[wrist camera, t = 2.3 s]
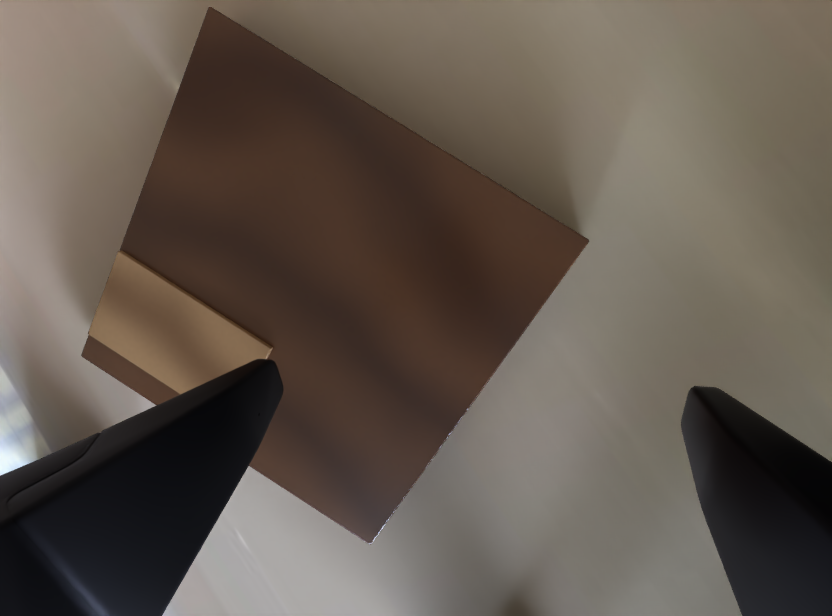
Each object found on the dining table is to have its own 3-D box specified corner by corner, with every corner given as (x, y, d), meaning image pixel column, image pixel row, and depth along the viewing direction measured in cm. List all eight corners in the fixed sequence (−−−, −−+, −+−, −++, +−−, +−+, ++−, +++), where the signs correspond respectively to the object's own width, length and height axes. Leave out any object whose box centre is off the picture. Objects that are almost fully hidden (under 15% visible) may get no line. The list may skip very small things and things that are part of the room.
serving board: (377, 524, 27) (369, 549, 25) (105, 347, 27) (75, 357, 25) (581, 238, 21) (592, 240, 19) (230, 22, 22) (204, 1, 20)
